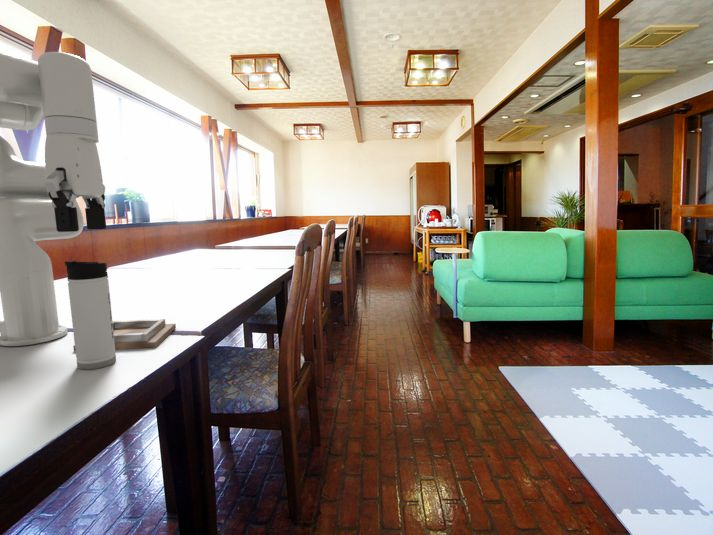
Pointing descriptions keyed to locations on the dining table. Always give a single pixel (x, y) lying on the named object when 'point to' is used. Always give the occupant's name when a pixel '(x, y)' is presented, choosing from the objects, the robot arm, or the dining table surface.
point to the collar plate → (140, 333)
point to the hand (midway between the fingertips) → (83, 230)
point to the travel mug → (91, 314)
